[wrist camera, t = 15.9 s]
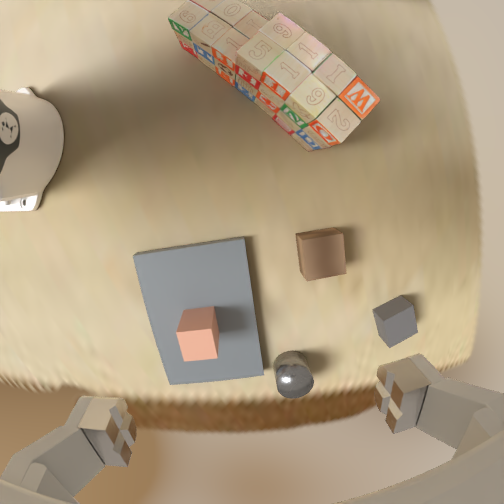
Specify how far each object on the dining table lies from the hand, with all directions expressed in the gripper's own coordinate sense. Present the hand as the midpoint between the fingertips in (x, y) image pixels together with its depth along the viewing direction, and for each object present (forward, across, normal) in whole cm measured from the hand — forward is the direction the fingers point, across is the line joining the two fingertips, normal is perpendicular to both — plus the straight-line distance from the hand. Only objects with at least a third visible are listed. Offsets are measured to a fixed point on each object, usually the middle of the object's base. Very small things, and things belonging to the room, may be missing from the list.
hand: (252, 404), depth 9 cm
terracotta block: (+29, +6, +11) cm, 32 cm away
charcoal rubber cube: (+30, -21, +16) cm, 40 cm away
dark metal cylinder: (+30, -5, +21) cm, 37 cm away
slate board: (+30, +6, +12) cm, 33 cm away
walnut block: (+30, -10, +4) cm, 32 cm away
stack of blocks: (+31, -5, -18) cm, 36 cm away
